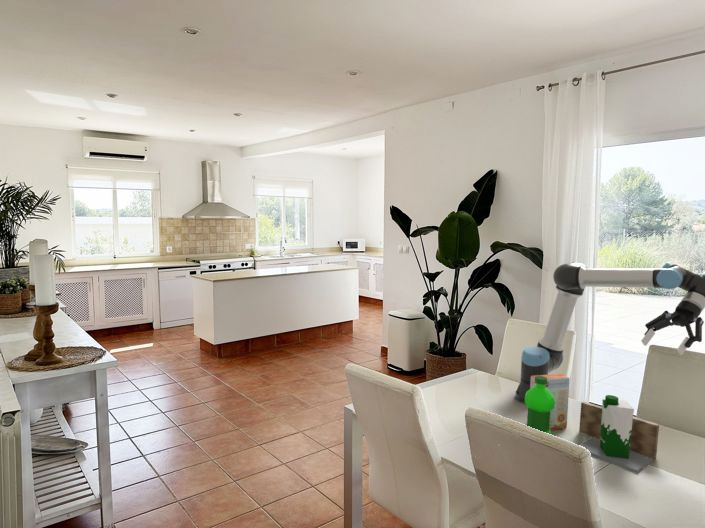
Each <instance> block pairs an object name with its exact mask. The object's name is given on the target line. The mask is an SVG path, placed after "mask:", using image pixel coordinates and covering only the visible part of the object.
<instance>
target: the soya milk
mask: <svg viewBox="0 0 705 528" xmlns="http://www.w3.org/2000/svg"><path fill="white" fill-rule="evenodd" d="M601 404H602V405H601V407H602V422H601V435H600V439H599V440H600V447H601V449H602V450H603V452H604V453H605V455H606V456H610V457H619V458H627V459H629V451H630V443H631V432H632V420H633V417H634V413H635V408H634V407H633V406H632V405H631V404H630V403H629V402H628V401H627V400H620V399H619V397H618V396H616V395H610V394H607V395H605V398H602V403H601Z"/></svg>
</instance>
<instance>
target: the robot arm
mask: <svg viewBox="0 0 705 528" xmlns="http://www.w3.org/2000/svg"><path fill="white" fill-rule="evenodd" d="M552 277H553V281H554V283H555V285H556V286H555V289H556V291H557V294H556V297H555V300H554V302H553V303H554V304H553V307H552V310H551V312H550V315H549V319H548V322H547V325H546V329H545V332H544V334H543V337H542V338H540V339H538V341H537V345H536V346H530V347H526V348H524V349H523V350H522V353H521V357H520V358H521V364H520V367H521V368H520V379H519V380H520V382H519V383H518V386H517V388H516V391H515V399H516V400H517V401H519V402H521V403H523V404H525V394H526V392H527V391H528V390H530V380H531V376H535V375H549V374H550V373H551V372H553V371H555V370H557V369H558V368H560V367H561V365H562V364H563V362H564V351H565V348H564V346H563V343H564V342H563V341H564V340H565V336H566V333H567V330H568V327H569V324H570V322H571V318H572V315H573V312H574V310H575V307H576V303H577V301H578V298H580V297H582V296H583V294H584V291H585V288H586V287H589V288H590V287H592V288H593V287H595V288H597V287H599V288H646V289H648V288H650V289H651V288H656V289H667V290H674V289H676V288H678V289H682V290H683V291H686V293H685V295H684V296H683V297H682V299H681V301H680V302H679V303H678V304H677V306H676V307H675V309H674V310H675V311H673V312H672V313H671V312H669V311H668V310H664V311H663V313H661V314H660V315H658V316H657V317H655V318H653V319H652V320H650V321H649V322H647V323H645V324H644V326H645V327H646V329H647V330H646V331H645V333H644V334H643V335H644V336H643V337H642V339H641V342H642V344H643V346H647V345H648V344H649V343H650V341H651V340H652V338H653V337H654V336H655V334H656V332H657V331H660V330H663V329H664V328H667V327H670V326H671V327H672V326H678V327H681V328H682V327H685V329H686V332H687V335H688V336H685V337H684V339H683V340H682V342H681V343H680V345H679V346H678V347H677V349H676V352H677V354H678V355H679V356H682V355H683V354H684V353H685V351H687V349H689V348H691V347H692V345H693V344H694V343H695V342H699V343H701V342H702V340H703V325H704V324H705V322H704V319H703V318H702V317H701V316H700V315H701V313H702V312H703V311H704V309H705V271H704V272H701V273H700V274H698V273H695V272H693V271H690V270H688V269H686V268H684V267H681V266H680V265H677V264H674V263H673V262H669V261H667V262H665V263H664V265H662V267H660V268H589V267H588V266H587V265H585V264H583V263H582V262H575V261H574V262H570V263H563V264H561V265H559V266H558V267H556V268H555V270H554V272H553V275H552ZM694 323H695V328H694V330H695V331H694V332H693V330H692V325H691V324H694ZM694 333H695V334H694Z"/></svg>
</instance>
